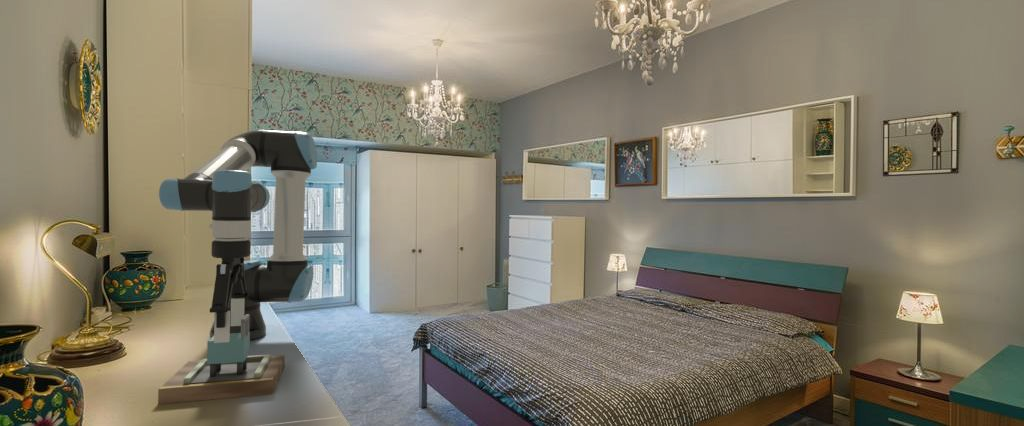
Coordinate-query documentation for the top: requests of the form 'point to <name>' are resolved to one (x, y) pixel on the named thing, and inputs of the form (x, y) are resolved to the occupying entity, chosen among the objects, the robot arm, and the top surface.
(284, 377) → the top surface
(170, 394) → the dock
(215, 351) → the light blue chair
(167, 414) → the top surface
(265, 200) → the robot arm
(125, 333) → the top surface
